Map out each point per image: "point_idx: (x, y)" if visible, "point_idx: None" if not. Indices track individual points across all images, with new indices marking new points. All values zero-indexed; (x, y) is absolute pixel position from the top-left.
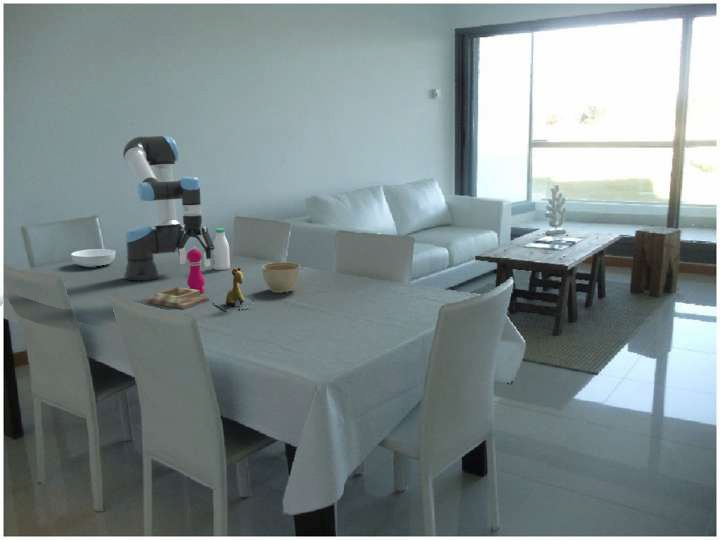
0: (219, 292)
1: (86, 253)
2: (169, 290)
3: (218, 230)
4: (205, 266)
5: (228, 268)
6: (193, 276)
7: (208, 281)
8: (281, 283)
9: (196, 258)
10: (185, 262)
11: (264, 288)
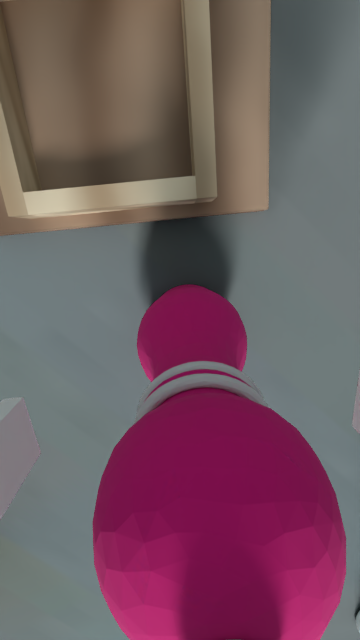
0: (97, 380)
1: None
2: (188, 81)
3: None
4: (8, 401)
5: (356, 622)
6: (171, 324)
7: None
8: None
9: (114, 451)
10: (357, 424)
11: (7, 511)
